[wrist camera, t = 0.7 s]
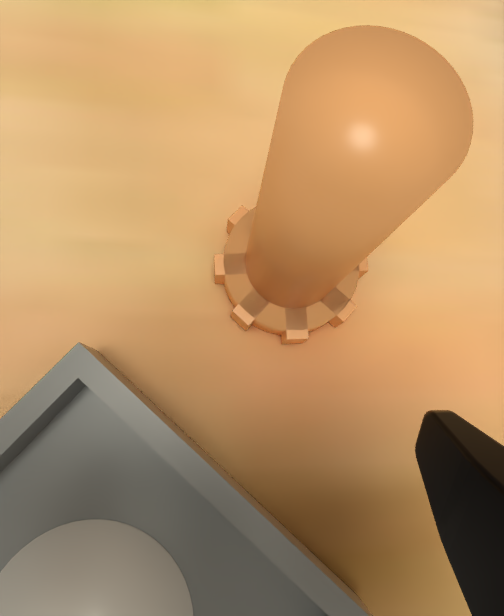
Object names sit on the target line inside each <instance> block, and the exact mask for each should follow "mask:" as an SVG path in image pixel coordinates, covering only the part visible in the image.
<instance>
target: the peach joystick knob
mask: <svg viewBox="0 0 504 616" xmlns="http://www.w3.org/2000/svg"><path fill="white" fill-rule="evenodd" d="M472 134H473V113H472V107H471V103H470V99H469V96H468V93H467V91H466V88H465V86H464V84H463V82H462V81H461V79H460V77H459V76H458V74H457V73H456V71H455V70H454V68H453V67H452V66H451V65H450V64H449V63H448V61H447V60H446V59H445V58H444V57H443V56H442V55H441V54H439V53H438V52H437V51H436V50H435V49H433V48H432V47H431V46H429V45H428V44H426V43H425V42H423V41H421V40H419V39H418V38H416V37H414V36H411V35H409V34H407V33H405V32H402V31H398V30H395V29H391V28H386V27H381V26H369V25H367V26H353V27H346V28H342V29H339V30H335V31H332V32H330V33H328V34H325V35H323V36H322V37H320V38H318V39H317V40H315V41H313V42H312V43H311V44H310V45H308V46H307V47H306V48H305V49H304V50H303V51H302V52H301V53H300V54H299V55H298V57H297V58H296V59H295V61H294V62H293V64H292V65H291V67H290V69H289V72H288V74H287V76H286V79H285V82H284V86H283V90H282V95H281V99H280V103H279V108H278V112H277V117H276V121H275V126H274V130H273V135H272V139H271V143H270V148H269V152H268V157H267V161H266V166H265V170H264V175H263V179H262V184H261V188H260V192H259V197H258V201H257V206H256V207H255V208H253V209H252V210H250V211H249V210H247V209H246V208H245V207H244V206H243V205H242V206H241V207H240V208H239V209H238V210H237V211H236V212H235V213H234V214H233V215H232V216H231V217H230V218H229V219H228V225H227V232H228V233H229V234H230V235H229V237H228V239H227V243H226V246H225V251H224V254H214V272H215V284H224V286H225V290H226V292H227V295H228V297H229V299H230V301H231V303H232V305H233V306H234V307H235V308H234V309H233V310H232V314H231V318H232V319H233V320H234V321H235V322H237V323H238V324H239V325H240V326H241V327H242V328H243V329H244V330H245V331H247V330H248V328H249V327H250V326H251V325H254V326H256V327H257V328H259V329H262V330H264V331H266V332H270V333H273V334H278V335H281V341H282V344H293V343H303V342H304V341H306V340H307V339H309V334H308V332H310V331H313V330H315V329H317V328H319V327H321V326H323V325H324V324H326V323H327V322H329V323H330V324H331V325H333V326H334V327H336V326H338V325H340V324H341V323H343V322H344V321H345V320H346V319H347V318H348V317H349V315H350V314H351V313H352V312H353V311H354V310H355V308H356V307H357V305H356V304H354V303H353V302H352V301H351V300H350V299H351V297H352V296H353V294H354V291H355V289H356V286H357V282H358V279H359V278H360V277H361V276H363V275H364V274H365V273H366V272H367V271H368V263H367V256H368V255H369V254H370V253H371V252H372V251H373V250H375V249H376V248H377V247H378V246H379V245H380V244H381V243H382V242H383V241H384V240H385V239H386V238H387V237H388V236H389V235H390V234H391V233H392V232H394V231H395V230H396V229H397V228H398V227H399V226H400V225H401V224H402V223H403V222H404V221H405V220H406V219H407V218H408V217H409V216H410V215H411V214H412V213H414V212H415V211H416V210H417V209H418V208H419V207H420V206H421V205H422V204H423V203H424V202H425V201H426V200H427V199H428V198H429V197H430V196H431V195H432V194H434V193H435V192H436V191H437V190H438V189H439V188H440V187H441V186H442V185H443V184H444V183H445V182H446V181H447V180H448V179H449V178H450V177H451V176H452V175H453V174H454V173H455V172H456V171H457V169H458V168H459V167H460V165H461V164H462V162H463V161H464V159H465V157H466V155H467V153H468V150H469V147H470V144H471V139H472Z"/></svg>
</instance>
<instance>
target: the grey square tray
mask: <svg viewBox="0 0 504 616" xmlns="http://www.w3.org/2000/svg"><path fill="white" fill-rule="evenodd" d="M0 616H373V615H372V614H371V613H370V611H369V610H368V609H367V607H366V606H365V605H364V603H363V602H362V601H361V599H360V598H359V597H358V596H357V595H356V594H355V593H354V592H353V591H352V590H351V589H350V588H349V587H348V586H347V585H346V584H345V583H344V582H343V581H341V580H340V579H339V578H338V577H337V576H336V575H335V574H334V573H333V572H332V571H331V570H330V569H329V568H328V567H327V566H326V565H324V564H323V563H322V562H321V561H320V560H319V559H318V558H317V557H316V556H315V555H314V554H313V553H312V552H311V551H310V550H309V549H307V548H306V547H305V546H304V545H303V544H302V543H301V542H300V541H299V540H298V539H297V538H296V537H295V536H294V535H293V534H291V533H290V532H289V531H288V530H287V529H286V528H285V527H284V526H283V525H282V524H281V523H280V522H279V521H278V520H277V519H276V518H274V517H273V516H272V515H271V514H270V513H269V512H268V511H267V510H266V509H265V508H264V507H263V506H262V505H261V504H260V503H259V502H257V501H256V500H255V499H254V498H253V497H252V496H251V495H250V494H249V493H248V492H247V491H246V490H245V489H244V488H243V487H242V486H240V485H239V484H238V483H237V482H236V481H235V480H234V479H233V478H232V477H231V476H230V475H229V474H228V473H227V472H226V471H224V470H223V469H222V468H221V467H220V466H219V465H218V464H217V463H216V462H215V461H214V460H213V459H212V458H211V457H210V456H209V455H207V454H206V453H205V452H204V451H203V450H202V449H201V448H200V447H199V446H198V445H197V444H196V443H195V442H194V441H193V440H192V439H190V438H189V437H188V436H187V435H186V434H185V433H184V432H183V431H182V430H181V429H180V428H179V427H178V426H177V425H176V424H174V423H173V422H172V421H171V420H170V419H169V418H168V417H167V416H166V415H165V414H164V413H163V412H162V411H161V410H160V409H159V408H157V407H156V406H155V405H154V404H153V403H152V402H151V401H150V400H149V399H148V398H147V397H146V396H145V395H144V394H143V393H142V392H140V391H139V390H138V389H137V388H136V387H135V386H134V385H133V384H132V383H131V382H130V381H129V380H128V379H127V378H126V377H125V376H123V375H122V374H121V373H120V372H119V371H118V370H117V369H116V368H115V367H114V366H113V365H112V364H111V363H110V362H109V361H107V360H106V359H105V358H104V357H103V356H102V355H101V354H100V353H99V352H98V351H97V350H95V349H92V348H90V347H88V346H86V345H84V344H82V343H79V342H78V343H77V344H76V345H75V346H74V347H73V348H72V349H71V350H70V351H69V352H68V353H67V354H66V355H65V356H64V357H63V358H62V359H61V360H60V361H59V362H58V363H57V364H56V365H55V366H54V367H53V368H52V369H51V370H50V371H49V372H48V373H47V374H46V375H45V376H44V377H43V378H42V379H41V380H40V381H39V382H38V383H37V384H36V385H35V386H34V387H33V388H32V389H31V390H30V391H29V392H28V393H27V394H26V395H25V396H24V397H23V398H22V399H21V400H20V401H18V402H17V403H16V404H15V405H14V406H13V407H12V408H11V409H10V410H9V411H8V412H7V413H6V414H5V415H4V416H3V417H2V418H1V419H0Z"/></svg>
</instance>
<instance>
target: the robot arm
mask: <svg viewBox="0 0 504 616" xmlns="http://www.w3.org/2000/svg"><path fill="white" fill-rule="evenodd" d="M415 453H416V458H417V462H418V465H419V469H420V472H421V475H422V479H423V482H424V485H425V489H426V492H427V495H428V499H429V502H430V505H431V509H432V512H433V515H434V519H435V522H436V525H437V529H438V532H439V535H440V538H441V541H442V543H443V546H444V549H445V551H446V554H447V556H448V559H449V561H450V563H451V566H452V568H453V571H454V573H455V576H456V578H457V580H458V583H459V585H460V588H461V590H462V592H463V595H464V597H465V600H466V602H467V604H468V607H469V609H470V612H471V614H472V616H504V446H503V445H501V444H500V443H498V442H497V441H495V440H494V439H492V438H491V437H489V436H488V435H486V434H485V433H483V432H482V431H480V430H479V429H478V428H476V427H475V426H473V425H472V424H470V423H469V422H467V421H466V420H464V419H463V418H461V417H460V416H458V415H457V414H455V413H454V412H452V411H449V410H431V411H428V412H426V414H425V415H424V418H423V421H422V424H421V428H420V431H419V435H418V438H417V441H416V447H415Z"/></svg>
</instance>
